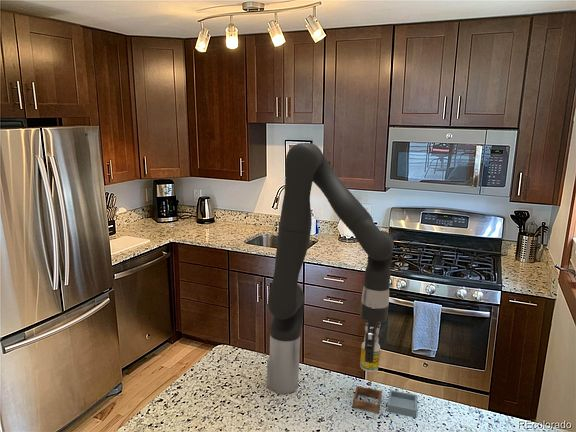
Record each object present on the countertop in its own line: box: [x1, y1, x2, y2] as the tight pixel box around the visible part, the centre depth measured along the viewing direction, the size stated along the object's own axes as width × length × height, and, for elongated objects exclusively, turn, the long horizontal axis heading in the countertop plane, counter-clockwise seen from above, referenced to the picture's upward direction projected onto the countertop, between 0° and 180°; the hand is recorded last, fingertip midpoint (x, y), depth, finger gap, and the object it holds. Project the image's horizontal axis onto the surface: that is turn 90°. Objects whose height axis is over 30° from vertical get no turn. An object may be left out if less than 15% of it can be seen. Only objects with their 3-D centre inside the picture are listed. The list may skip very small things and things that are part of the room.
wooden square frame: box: [351, 385, 383, 414], centre depth 129 cm, size 8×8×2 cm
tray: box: [386, 389, 418, 418], centre depth 128 cm, size 8×8×2 cm
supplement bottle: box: [359, 336, 381, 373], centre depth 127 cm, size 5×5×10 cm
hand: (370, 356), depth 127 cm, fingers closed on supplement bottle, 5 cm apart
